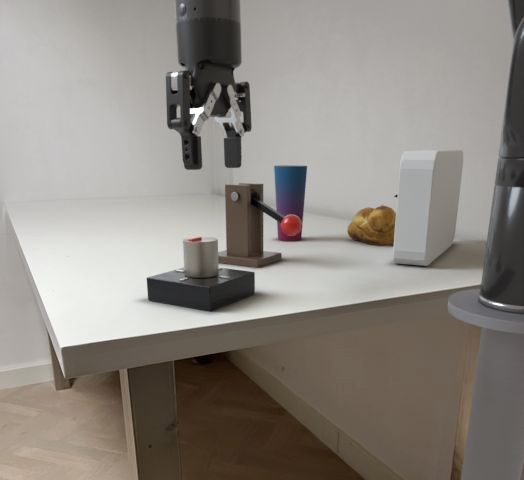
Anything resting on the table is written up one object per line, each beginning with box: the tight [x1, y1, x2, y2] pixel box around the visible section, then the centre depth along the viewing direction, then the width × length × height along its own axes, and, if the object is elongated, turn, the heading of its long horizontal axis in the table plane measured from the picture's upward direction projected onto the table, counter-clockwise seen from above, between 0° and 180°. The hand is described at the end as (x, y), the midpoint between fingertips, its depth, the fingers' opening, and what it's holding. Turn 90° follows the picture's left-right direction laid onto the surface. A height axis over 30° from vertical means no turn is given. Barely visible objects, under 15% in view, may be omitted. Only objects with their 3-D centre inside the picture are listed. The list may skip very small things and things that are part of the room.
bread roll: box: [346, 204, 396, 246], centre depth 114 cm, size 13×10×8 cm
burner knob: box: [182, 236, 220, 278], centre depth 71 cm, size 4×4×5 cm
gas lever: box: [251, 189, 303, 236], centre depth 91 cm, size 13×3×3 cm, turn 58°
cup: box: [273, 164, 308, 242], centre depth 116 cm, size 7×7×15 cm
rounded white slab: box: [392, 149, 464, 267], centre depth 100 cm, size 29×8×18 cm, turn 153°
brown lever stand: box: [218, 182, 283, 268], centre depth 94 cm, size 10×8×13 cm
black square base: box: [146, 267, 256, 312], centre depth 72 cm, size 10×10×3 cm
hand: (214, 168), depth 70 cm, fingers open, 8 cm apart
